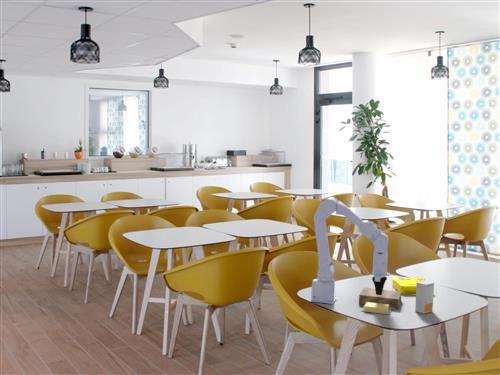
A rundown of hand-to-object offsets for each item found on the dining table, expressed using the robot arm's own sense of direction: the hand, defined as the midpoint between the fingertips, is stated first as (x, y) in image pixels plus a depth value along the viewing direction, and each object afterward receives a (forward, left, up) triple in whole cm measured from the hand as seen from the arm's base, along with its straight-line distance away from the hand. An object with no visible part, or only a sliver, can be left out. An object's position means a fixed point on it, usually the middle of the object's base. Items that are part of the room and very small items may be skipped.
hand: (378, 294), depth 228 cm
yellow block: (0, -7, -3) cm, 7 cm away
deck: (0, +6, -5) cm, 7 cm away
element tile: (+11, +32, -6) cm, 34 cm away
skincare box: (+18, +1, -5) cm, 19 cm away
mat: (0, -5, -5) cm, 7 cm away
